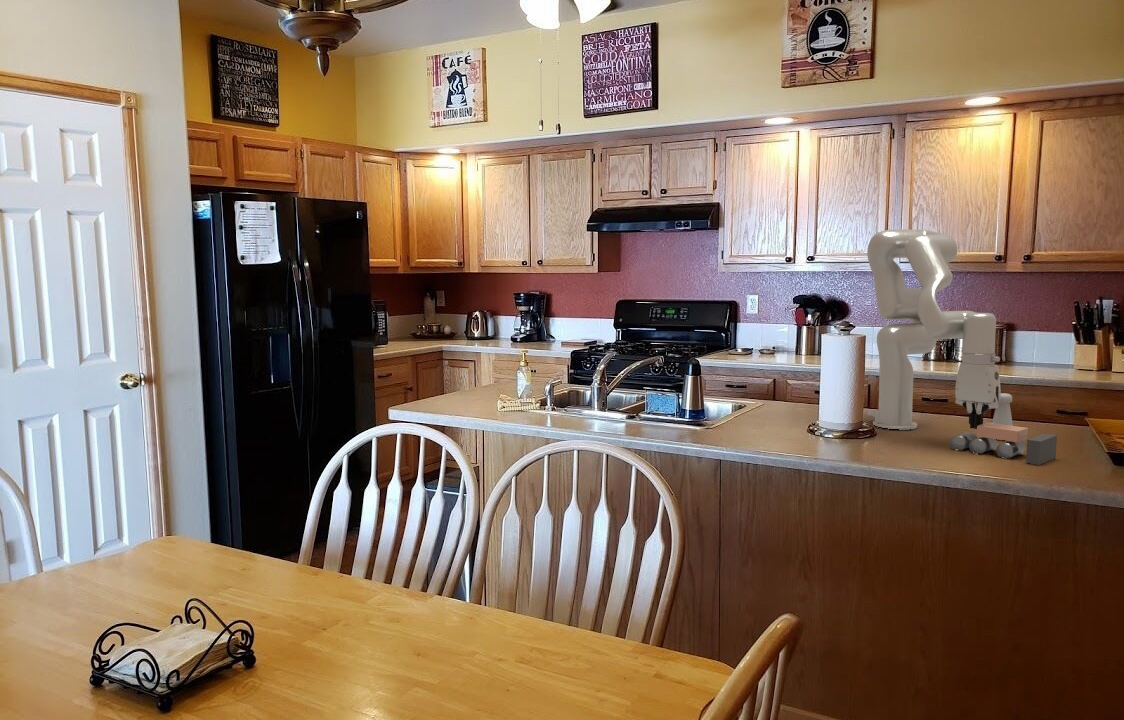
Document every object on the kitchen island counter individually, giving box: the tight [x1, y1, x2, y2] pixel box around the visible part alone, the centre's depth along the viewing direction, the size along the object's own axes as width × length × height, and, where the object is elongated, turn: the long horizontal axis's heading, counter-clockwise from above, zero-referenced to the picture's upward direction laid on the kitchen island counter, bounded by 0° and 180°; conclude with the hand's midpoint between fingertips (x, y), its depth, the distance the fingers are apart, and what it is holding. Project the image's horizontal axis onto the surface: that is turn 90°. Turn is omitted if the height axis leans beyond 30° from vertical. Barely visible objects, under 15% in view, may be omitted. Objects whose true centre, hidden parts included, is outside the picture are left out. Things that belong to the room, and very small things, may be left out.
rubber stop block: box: [1025, 433, 1058, 466], centre depth 196 cm, size 3×10×6 cm, turn 128°
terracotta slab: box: [976, 422, 1029, 442], centre depth 203 cm, size 10×6×3 cm, turn 38°
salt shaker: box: [991, 392, 1014, 441], centre depth 220 cm, size 6×6×13 cm
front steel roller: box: [969, 437, 998, 455], centre depth 207 cm, size 4×8×4 cm, turn 128°
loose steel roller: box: [995, 441, 1026, 459], centre depth 202 cm, size 4×8×4 cm, turn 128°
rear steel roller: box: [948, 431, 978, 451], centre depth 211 cm, size 4×8×4 cm, turn 128°
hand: (975, 427), depth 208 cm, fingers closed
